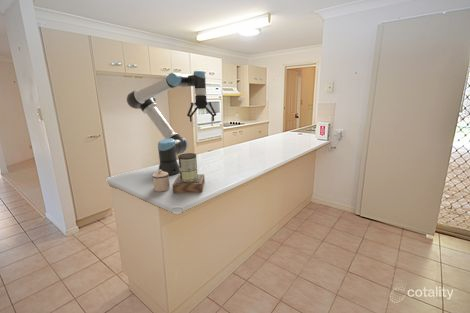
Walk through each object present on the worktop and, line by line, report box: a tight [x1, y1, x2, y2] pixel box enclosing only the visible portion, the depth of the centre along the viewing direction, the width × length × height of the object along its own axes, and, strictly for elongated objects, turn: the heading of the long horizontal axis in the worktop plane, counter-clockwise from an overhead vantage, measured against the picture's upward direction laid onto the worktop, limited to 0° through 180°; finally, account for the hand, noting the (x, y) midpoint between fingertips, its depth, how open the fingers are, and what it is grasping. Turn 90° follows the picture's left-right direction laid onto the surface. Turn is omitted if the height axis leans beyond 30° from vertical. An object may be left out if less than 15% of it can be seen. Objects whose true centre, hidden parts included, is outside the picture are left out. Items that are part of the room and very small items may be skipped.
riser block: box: [172, 173, 205, 194], centre depth 135 cm, size 16×16×5 cm
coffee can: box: [177, 152, 199, 182], centre depth 132 cm, size 10×10×14 cm
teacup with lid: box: [151, 170, 171, 193], centre depth 134 cm, size 12×9×12 cm
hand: (202, 126), depth 162 cm, fingers open, 13 cm apart
